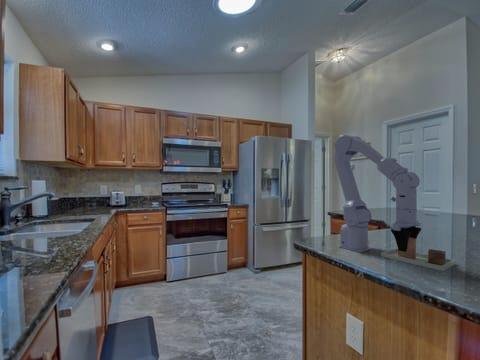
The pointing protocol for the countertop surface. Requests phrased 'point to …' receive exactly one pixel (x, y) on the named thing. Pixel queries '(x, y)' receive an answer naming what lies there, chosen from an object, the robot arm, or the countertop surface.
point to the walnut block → (436, 257)
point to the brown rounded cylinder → (409, 249)
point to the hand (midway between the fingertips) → (406, 249)
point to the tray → (418, 260)
